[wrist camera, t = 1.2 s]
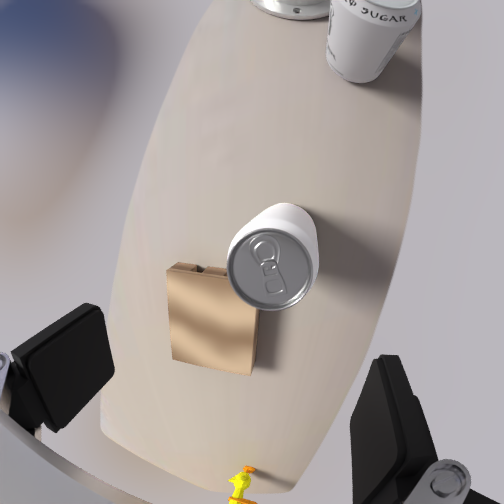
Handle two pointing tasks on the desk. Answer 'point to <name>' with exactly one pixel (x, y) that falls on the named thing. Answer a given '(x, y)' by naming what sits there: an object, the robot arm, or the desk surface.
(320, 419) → the desk surface
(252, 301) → the can
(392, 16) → the energy drink can
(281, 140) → the desk surface
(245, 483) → the toy figure
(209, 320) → the dock
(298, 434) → the desk surface
